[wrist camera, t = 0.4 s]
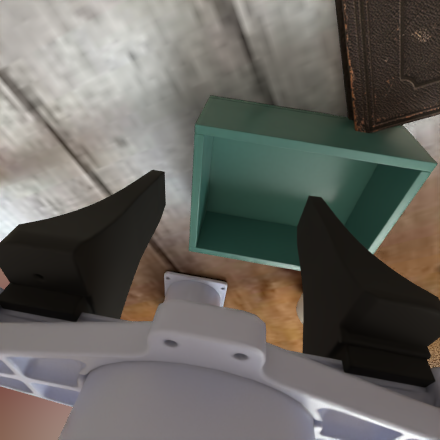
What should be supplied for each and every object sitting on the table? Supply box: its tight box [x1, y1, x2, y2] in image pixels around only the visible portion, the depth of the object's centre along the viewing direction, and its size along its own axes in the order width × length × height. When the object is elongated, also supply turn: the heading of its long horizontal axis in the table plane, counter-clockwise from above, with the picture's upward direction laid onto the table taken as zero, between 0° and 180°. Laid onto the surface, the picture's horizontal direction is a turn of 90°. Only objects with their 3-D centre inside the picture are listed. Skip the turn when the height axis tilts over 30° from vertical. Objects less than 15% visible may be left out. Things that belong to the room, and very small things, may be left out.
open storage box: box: [189, 96, 437, 271], centre depth 22 cm, size 11×14×6 cm
